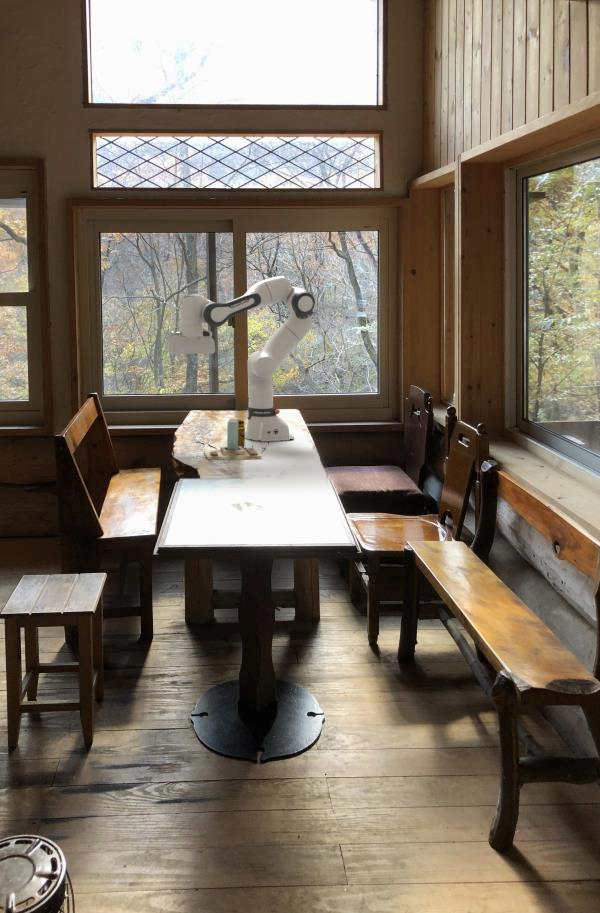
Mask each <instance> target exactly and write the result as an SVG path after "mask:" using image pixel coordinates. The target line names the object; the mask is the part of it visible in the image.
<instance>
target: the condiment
mask: <svg viewBox="0 0 600 913" xmlns="http://www.w3.org/2000/svg"><path fill="white" fill-rule="evenodd" d="M237 421H238V447H242V448H243V449H244V447H245V444H246V442H245V440H246V438H245V433H246V426H245V421H244V420H242V419H237ZM244 450H245V449H244Z"/></svg>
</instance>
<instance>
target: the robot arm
mask: <svg viewBox="0 0 600 913" xmlns="http://www.w3.org/2000/svg"><path fill="white" fill-rule="evenodd" d="M278 302H279V303H280V302H281V303H282V305H283V306H284V307H285V308H287V309H288V310H289V311H290V312H289V313H290V314H289V316H288V318H287V319H286V320H285V321H284V322H283V323H282V324H281V325H280V326H279V328H277V330H275V331H274V333H273V334H272V335H271V336H270V337H269V339H268V340H267V342H266V343H265V344H264V346H263V347H262V348H261V349H260V350H256V351H253V352H252V353H250V354H249V356H248V359H247V383H248V406H247V409H246V412H247V415H246V418H247V424H246V428H245V440H250V439H252V441H258V440H261V441H260V442H264V441H265V442H279V441H281V440H282V441H291V440H290V439H293V440H294V439H295V436H294V435H293V434H292V433H290V428H289V425H288V424H287V423H286V422H285V421H284V420H283V419H282V418H281V417H279V416H278V415H279V414H280V409H278V408H276V407H275V406H274V386H273V376H274V374H275V372H276V371H277V370H278V368H279V367H280V366H281V365H282V363H283V362H284V361H285V359H286V358H287V357H288V355H289V354H290V353H291V352H293V350H294V349H295V348H296V347H297V346H298V345H299V343H301V341H303V339H305V337H306V335H307V334H308V333H309V331H310V330H311V328H312V327H313V319H312V318H311V316H312V315H313V314H312V313H313V311H314V308H315V306H316V300H315V297H314V295H313V294H312V293H311V292H310V291H308V290H306V289H305V288H303V287H299V286H297V285H292V284H291V281H290V280H289V279H288V278H287V277H286V276H285V275H279V276H272V277H270V278H266V279H264V280H260V281H257V282H255V283H254V284H252V285H251V286H249V287H248V289H247V290H246V292H245V293H244V294H243V295H241V296H239V297H237V298H235V299H232V300H230V301H227V302H223V303H222V302H215V301H211V300H209V299H207V298H205V297H204V296H202V294H200V293H191V294H187V295H185V296H183V298H182V301H181V315H180V316H181V323H180V324H181V326H180V329H181V331H171V332H169V333H168V334H167V336H166V337H167V338H166V340H167V342H168V345H167V352H168V353H169V354H172V355H173V354H175V356H176V358H177V360H178V364H179V365H183V359H181V358H180V356H181V354H182V355H183V354H184V355H187V354H189V355H191V354H192V355H194V354H195V355H203V358H202V359H200V365H205V360H206V359H207V356H208V355H210V354H211V355H214V353H215V352H216V344H215V340H214V339H213V332H212V331H211V330H207V329H205V328H203V324H204V323H205V324H207V325H208V326H210V327H212V328H219V327H221V326H223V325H224V324H225V323H226V322H228V321H229V319H230V318H232V317H234V316H237V315H239V314H241V313H244V312H246V311H248V310H255V309H260V308H261V309H263V308H264V307H265V308H266V307H268V306H269V307H270V306H271V305H274V304H276V303H278Z"/></svg>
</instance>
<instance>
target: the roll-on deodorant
mask: <svg viewBox="0 0 600 913" xmlns="http://www.w3.org/2000/svg"><path fill="white" fill-rule="evenodd" d="M237 420H238V418H236V417H230V418H229V419H228V421H227V430H226V431H227V435H226V436H227V438H226V440H227V441H226V443H227V445H226V447H227V450H238V421H237Z"/></svg>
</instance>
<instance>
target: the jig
mask: <svg viewBox="0 0 600 913" xmlns="http://www.w3.org/2000/svg"><path fill="white" fill-rule="evenodd" d="M219 448H220V449H217V450H216V449H211V450H205V449H204V450H203V454H205V455H206V456H205V455H204V456H205V457H207V458H208V459H225V460H252V459H251V458H262V459H263V455H262V454H261V453H260V452H259V451H258V450H257V449H255V448H253V447H252V448H251V447H250V448H249V447H245V448H246V449H243V448H242V447H238V450H227V446H220V447H219ZM207 458H206V459H207ZM208 459H207V460H208Z"/></svg>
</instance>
